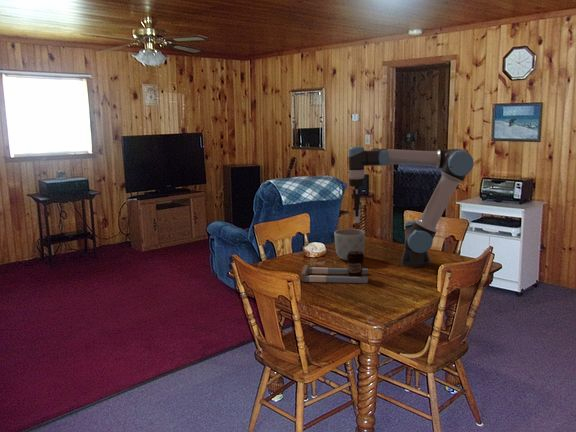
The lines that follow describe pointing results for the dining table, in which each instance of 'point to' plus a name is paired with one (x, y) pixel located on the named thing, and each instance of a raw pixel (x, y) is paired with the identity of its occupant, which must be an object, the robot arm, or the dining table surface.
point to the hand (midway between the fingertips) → (357, 220)
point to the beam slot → (331, 278)
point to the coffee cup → (355, 263)
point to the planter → (349, 241)
